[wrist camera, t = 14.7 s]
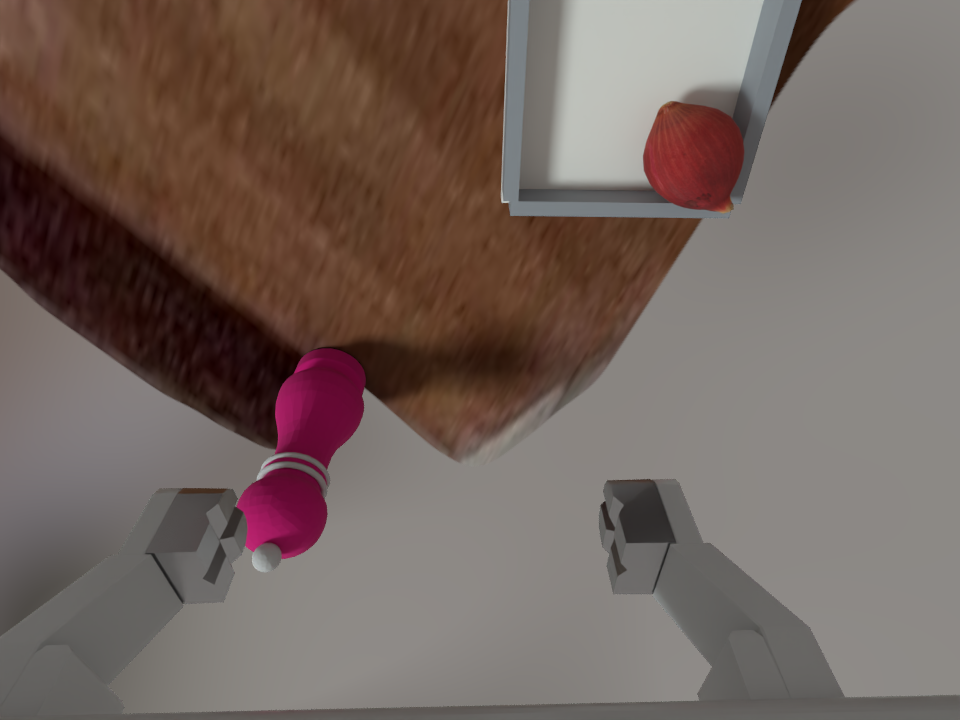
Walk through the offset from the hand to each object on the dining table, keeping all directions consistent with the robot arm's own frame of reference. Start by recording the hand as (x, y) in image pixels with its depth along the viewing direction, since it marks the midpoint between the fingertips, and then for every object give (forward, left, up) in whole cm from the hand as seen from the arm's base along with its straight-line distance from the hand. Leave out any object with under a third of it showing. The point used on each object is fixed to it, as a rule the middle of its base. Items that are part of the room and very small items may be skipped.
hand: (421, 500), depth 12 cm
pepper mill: (+21, -12, -32) cm, 40 cm away
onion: (-3, +13, -29) cm, 31 cm away
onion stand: (-4, +11, -32) cm, 34 cm away
